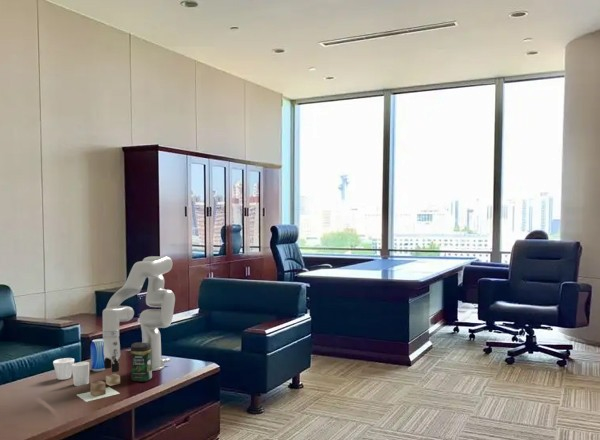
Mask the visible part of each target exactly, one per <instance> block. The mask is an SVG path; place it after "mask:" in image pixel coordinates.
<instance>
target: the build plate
mask: <svg viewBox="0 0 600 440" xmlns="http://www.w3.org/2000/svg"><path fill="white" fill-rule="evenodd" d="M120 394H121V393H120V392H119V391H117V390H115V389H113V388H111V387H110V386H108V387H106V394H104V395H100V396H96V397H94V396H93V395H91V391H87V392H84V393H83V392H82V393H79V394H78V393H77V394H76V396H77V397H78V398H80V399H81V400H83V401H84V402H85V403H86V402H91V401H95V400H96V401H97V400H99V399H103V398H107V397H111V396H115V395H120Z"/></svg>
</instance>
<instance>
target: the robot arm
mask: <svg viewBox="0 0 600 440" xmlns="http://www.w3.org/2000/svg"><path fill="white" fill-rule="evenodd" d="M173 265H174V264H173V260H172V258H171V257H170V256H153V255H152V256H147V257H144V258H143V259H142V260H141V261H137V262H135V263H134V264H133V266H132V267H131V269H130V272H129V274H128V277H127V279H126V281H125V284H124V285H123V286H122V287H121V288H119V289H118V290H117V291H116V292H114V294H113V295H112V296H111V297H110V299H109V300H108V302H107V304H106V307H105V308H104V309H103V310H102V339H104V369H106V370H107V369H111V373H117V372H119V371H120V358H121V344H120V342H121V341H120V322H121V323H122V322H129V321H130V320H132V319H133V318H134V315H135V310H134V309H133V307H131V306H128V305H121V304H122V303H123V302H124V301H125V300H127V299H129V298H131V297H134V296H135V295H138V294H140V292H141V291H142V288H143V286H144V283H145V281H146V279H148V285H147V290H146V294H145V305H147V306H148V307H151V309H149V308H148V309H144V310H142V311H141V313H140V314H139V324H140V330H141V338H142V339H141V340H142V341H141V342H142V343H150V344H151V353H150V361H151V370H152V372H156V371H159V370H163V369H165V363H170V362H171V359H170V357H169V358H162V341H161V339H162V338H161V336H162V335H161V332H160V330H159V329H161V328H162V329H165V328H168V327H170V326H171V323H172V322H173V316H174V309H175V303H176V296H175V293H174V292H173V291H172V290H171V289H165V281H166V280H165V277H164V276H163V275H164V274H167V273H169V272H170V271H171V270H172V269H173ZM152 308H153V309H152ZM154 308H161V309H154Z"/></svg>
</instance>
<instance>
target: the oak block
mask: <svg viewBox="0 0 600 440" xmlns="http://www.w3.org/2000/svg"><path fill="white" fill-rule="evenodd" d="M119 384H121V375H119V374H118V373H113V374H108V375H106V376H105V385H107V386H108V387H110V386H114V385H119Z"/></svg>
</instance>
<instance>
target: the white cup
mask: <svg viewBox="0 0 600 440" xmlns="http://www.w3.org/2000/svg"><path fill="white" fill-rule="evenodd" d="M89 378H90V362H89V361H79V362H74V363H73V364H72V379H73V386H75V387H80V386H84V385H89V384H90V379H89Z"/></svg>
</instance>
